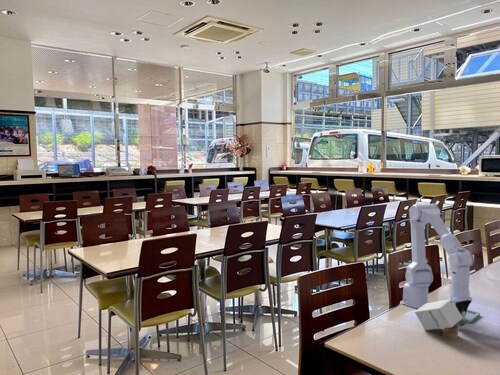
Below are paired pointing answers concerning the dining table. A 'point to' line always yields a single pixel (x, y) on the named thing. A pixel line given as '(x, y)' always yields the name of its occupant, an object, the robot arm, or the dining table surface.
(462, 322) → the silver cylindrical canister
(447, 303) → the supplement box
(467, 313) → the tray
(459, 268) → the robot arm
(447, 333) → the walnut block
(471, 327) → the dining table surface
